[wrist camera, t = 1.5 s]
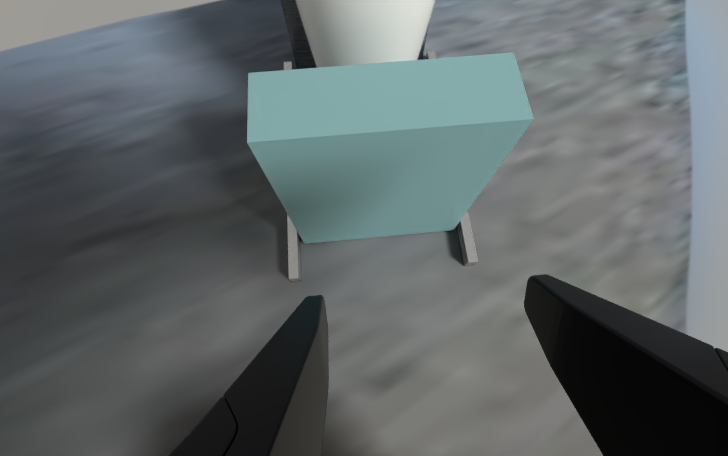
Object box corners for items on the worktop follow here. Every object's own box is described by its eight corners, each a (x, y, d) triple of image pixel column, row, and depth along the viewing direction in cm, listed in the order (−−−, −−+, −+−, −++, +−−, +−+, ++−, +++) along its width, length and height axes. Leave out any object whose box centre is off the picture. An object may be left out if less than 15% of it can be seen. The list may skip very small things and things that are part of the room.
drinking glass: (309, 93, 27) (245, -170, 13) (391, 68, 28) (418, -212, 13) (338, 169, 26) (300, -39, 11) (425, 140, 26) (496, -93, 12)
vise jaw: (453, 230, 24) (533, 119, 12) (304, 243, 23) (247, 142, 12) (445, 189, 25) (513, 52, 13) (302, 202, 24) (248, 72, 13)
